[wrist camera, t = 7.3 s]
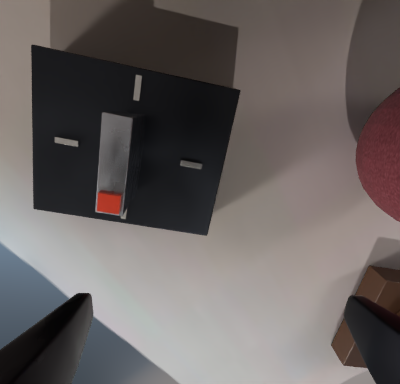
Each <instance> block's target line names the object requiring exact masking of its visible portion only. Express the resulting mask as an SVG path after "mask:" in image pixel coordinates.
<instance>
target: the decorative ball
mask: <svg viewBox="0 0 400 384" xmlns="http://www.w3.org/2000/svg"><path fill="white" fill-rule="evenodd" d="M356 165H357V171H358V175H359V179H360V181H361V183H362V186H363V188H364V190H365V191H366V192H367V194H368V195H369V196H370V198H371V199H372V200H373V201H374V203H375V204H376V205H377V206H378V207H379V208H381V209H382V210H383V211H384V212H386V213H387V214H388V215H390V216H391V217H393V218H394V219H395V220H397V221H399V222H400V87H399V88H398V89H397V90H396V91H395V92H393V93H392V94H391V95H390V96H389V97H387V98H386V99H385V100H384V101H383V102H382V103H381V104H380V105H379V106H378V107H377V108H376V110H375V111H374V112H373V113H372V114H371V116H370V117H369V119H368V120H367V122H366V124H365V125H364V127H363V130H362V132H361V134H360V137H359V140H358V144H357V149H356Z"/></svg>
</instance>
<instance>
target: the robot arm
mask: <svg viewBox="0 0 400 384" xmlns="http://www.w3.org/2000/svg"><path fill="white" fill-rule="evenodd" d="M92 319H93V306H92V297H91V294H89V293H78V294H76V295H74V296H73V297H72V298H70V299H69V300H67V301H66V302H65V303H63V304H62V305H61V306H59V307H58V308H57V309H55V310H54V311H52V312H51V313H50V314H48V315H47V316H46V317H44V318H43V319H42V320H40V321H39V322H37V323H36V324H35V325H33V326H32V327H31V328H29V329H28V330H26V331H25V332H24V333H22V334H21V335H20V336H18V337H17V338H16V339H14V340H13V341H11V342H10V343H9V344H7V345H6V346H5V347H3V348H2V349H1V350H0V384H71V383H72V380H73V378H74V376H75V373H76V371H77V368H78V365H79V361H80V359H81V355H82V352H83V349H84V345H85V342H86V339H87V336H88V332H89V329H90V326H91V323H92ZM344 319H345V322H346V324H347V326H348V328H349V331H350V333H351V335H352V337H353V339H354V341H355V343H356V345H357V348H358V350H359V352H360V354H361V356H362V358H363V360H364V362H365V364H366V366H367V368H368V370H369V372H370V374H371V375H372V377H373V379H374V381H375V382H376V384H400V316H398V315H396V314H394V313H393V312H391V311H389V310H387V309H385V308H384V307H382V306H380V305H378V304H377V303H375V302H373V301H371V300H369V299H368V298H366V297H364V296H361V295H352V296H350V297H349V298H348V301H347V304H346V308H345V311H344Z"/></svg>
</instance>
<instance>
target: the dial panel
mask: <svg viewBox="0 0 400 384" xmlns="http://www.w3.org/2000/svg"><path fill="white" fill-rule="evenodd" d="M31 53H32V127H33V200H34V209H37V210H44V211H50V212H56V213H63V214H69V215H76V216H82V217H89V218H95V219H102V220H108V221H115V222H121V223H128V224H134V225H141V226H147V227H154V228H160V229H167V230H173V231H180V232H186V233H193V234H199V235H205V236H207V234H208V230H209V225H210V221H211V216H212V212H213V208H214V203H215V199H216V195H217V190H218V186H219V182H220V177H221V173H222V169H223V164H224V160H225V156H226V151H227V147H228V143H229V138H230V134H231V130H232V125H233V121H234V117H235V112H236V108H237V104H238V99H239V95H240V90H238V89H233V88H229V87H224V86H220V85H215V84H210V83H206V82H201V81H197V80H192V79H188V78H183V77H178V76H174V75H169V74H165V73H160V72H156V71H151V70H147V69H142V68H137V67H133V66H128V65H124V64H119V63H115V62H110V61H105V60H101V59H96V58H92V57H87V56H83V55H78V54H73V53H69V52H64V51H60V50H55V49H51V48H46V47H41V46H37V45H31ZM112 111H128V112H134V113H139V114H144V115H146V124H145V132H144V140H143V149H142V157H141V165H140V174H139V182H138V190H137V193H136V194H135V196H134V198H133V199H132V201H131V203H130V204H129V206H128V208H127V209H126V211H125V213H124V214H123V216H118V215H111V214H105V213H98V212H95V209H96V194H97V179H98V164H99V150H100V135H101V120H102V112H112Z"/></svg>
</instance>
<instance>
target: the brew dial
mask: <svg viewBox="0 0 400 384" xmlns="http://www.w3.org/2000/svg"><path fill="white" fill-rule="evenodd" d="M145 124H146V115H144V114H139V113H134V112H128V111H112V112H102V120H101V135H100V150H99V164H98V179H97V194H96V209H95V212H98V213H105V214H111V215H118V216H123V214H124V213H125V211H126V209H127V208H128V206H129V204H130V203H131V201H132V199H133V198H134V196H135V194H136V193H137V190H138V182H139V174H140V165H141V157H142V149H143V140H144V132H145Z"/></svg>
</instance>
